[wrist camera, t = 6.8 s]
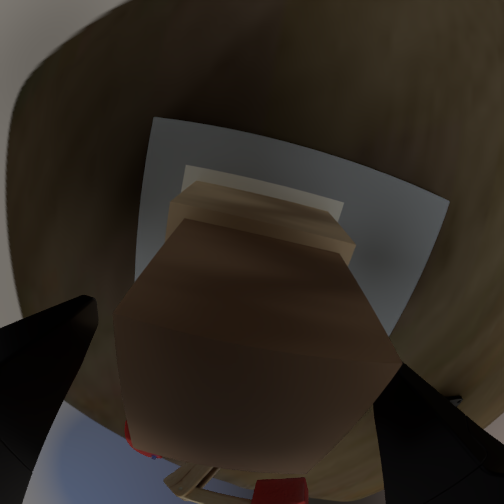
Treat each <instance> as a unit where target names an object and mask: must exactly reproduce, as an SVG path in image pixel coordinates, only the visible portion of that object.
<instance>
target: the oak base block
mask: <svg viewBox="0 0 504 504" xmlns="http://www.w3.org/2000/svg"><path fill="white" fill-rule="evenodd" d="M184 218H186V219H191V220H196V221H200V222H205V223H209V224H214V225H219V226H223V227H228V228H232V229H237V230H241V231H246V232H250V233H255V234H259V235H263V236H268V237H272V238H276V239H281V240H285V241H289V242H294V243H298V244H302V245H307V246H311V247H315V248H319V249H323V250H328V251H332V252H336V253H339V254H340V255H341V257H342V258H343V260H344V261H345V263H346V265H347V266H348V265H349V263H350V260H351V257H352V255H353V252H354V249H355V247H356V244H355V243H354V241H353V240H352V239H351V238H350V237H349V235H348V234H347V233H346V232H345V231H344V229H343V228H342V227H341V226H340V225H339V224H338V222H337V221H336V220H335V219H334V218H333V217H332V215H331V214H330V213H329V212H328V211H324V210H320V209H317V208H313V207H309V206H305V205H301V204H298V203H294V202H290V201H286V200H282V199H278V198H274V197H269V196H265V195H261V194H257V193H252V192H248V191H244V190H239V189H235V188H230V187H226V186H221V185H216V184H211V183H206V182H202V181H197V180H196V181H195V182H194V183H193V184H191V185H190V186H189V187H188V188H186V189H185V190H184V191H182V192H181V193H180V194H179V195H178V196H176V197H175V198H174V199H173V200H171V201H170V205H169V212H168V220H167V227H166V235H165V242H166V241H167V239H168V238H169V237H170V236H171V234H172V233H173V232H174V231H175V229H176V228H177V227H178V226H179V224H180V223H181V222H182V221H183V219H184Z"/></svg>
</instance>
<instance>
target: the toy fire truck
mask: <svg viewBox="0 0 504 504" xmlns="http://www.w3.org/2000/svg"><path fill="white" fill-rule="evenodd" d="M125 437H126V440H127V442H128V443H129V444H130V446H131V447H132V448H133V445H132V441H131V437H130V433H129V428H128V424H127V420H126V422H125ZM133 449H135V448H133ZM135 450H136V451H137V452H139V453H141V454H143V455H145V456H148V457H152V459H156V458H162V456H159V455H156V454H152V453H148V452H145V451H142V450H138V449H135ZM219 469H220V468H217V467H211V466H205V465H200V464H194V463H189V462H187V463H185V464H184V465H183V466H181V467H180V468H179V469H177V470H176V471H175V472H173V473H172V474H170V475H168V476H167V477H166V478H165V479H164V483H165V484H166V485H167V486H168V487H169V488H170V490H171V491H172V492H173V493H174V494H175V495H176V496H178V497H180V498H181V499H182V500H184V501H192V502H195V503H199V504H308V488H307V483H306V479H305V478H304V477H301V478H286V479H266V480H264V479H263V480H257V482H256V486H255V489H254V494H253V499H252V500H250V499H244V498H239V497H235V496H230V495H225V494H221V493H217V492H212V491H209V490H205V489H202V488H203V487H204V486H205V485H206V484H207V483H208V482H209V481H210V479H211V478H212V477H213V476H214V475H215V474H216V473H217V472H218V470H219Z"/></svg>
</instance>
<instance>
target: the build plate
mask: <svg viewBox="0 0 504 504" xmlns="http://www.w3.org/2000/svg"><path fill="white" fill-rule="evenodd" d="M196 180H197V181H202V182H206V183H211V184H216V185H221V186H226V187H230V188H235V189H239V190H244V191H248V192H252V193H257V194H261V195H265V196H269V197H274V198H278V199H282V200H286V201H290V202H294V203H298V204H301V205H305V206H309V207H313V208H317V209H320V210H324V211H328V212H329V213H330V214H331V215H332V217H333V218H334V219H335V220H336V221H337V222H338V224H339V225H340V226H341V227H342V228H343V229H344V231H345V232H346V233H347V234H348V235H349V237H350V238H351V239H352V240H353V241H354V243H355V244H356V247H355V249H354V252H353V255H352V257H351V260H350V263H349V265H348V268H349V270H350V271H351V273H352V274H353V276H354V278H355V279H356V281H357V283H358V284H359V286H360V288H361V289H362V291H363V293H364V294H365V296H366V298H367V299H368V301H369V303H370V305H371V306H372V308H373V310H374V312H375V313H376V315H377V317H378V319H379V320H380V322H381V324H382V326H383V328H384V329H385V331H386V333H387V335H388V337H389V335H390V334H391V332H392V330H393V328H394V327H395V325H396V323H397V321H398V319H399V318H400V316H401V314H402V312H403V310H404V308H405V306H406V304H407V302H408V300H409V298H410V297H411V295H412V293H413V290H414V288H415V286H416V284H417V282H418V280H419V278H420V276H421V274H422V271H423V269H424V267H425V265H426V262H427V260H428V258H429V255H430V253H431V251H432V248H433V246H434V243H435V241H436V238H437V236H438V233H439V231H440V228H441V225H442V223H443V220H444V217H445V214H446V211H447V208H448V205H449V202H450V201H448V200H446V199H444V198H442V197H439V196H437V195H435V194H433V193H431V192H428V191H426V190H424V189H422V188H419V187H417V186H415V185H412V184H410V183H408V182H405V181H403V180H400V179H398V178H395V177H393V176H390V175H387V174H385V173H382V172H380V171H377V170H374V169H371V168H369V167H366V166H363V165H360V164H357V163H355V162H352V161H349V160H346V159H343V158H340V157H336V156H333V155H330V154H327V153H324V152H320V151H317V150H314V149H310V148H307V147H303V146H300V145H296V144H292V143H289V142H285V141H281V140H277V139H273V138H269V137H265V136H260V135H256V134H252V133H247V132H242V131H238V130H233V129H228V128H223V127H217V126H212V125H206V124H200V123H194V122H188V121H181V120H174V119H167V118H159V117H154V118H153V123H152V129H151V134H150V139H149V145H148V151H147V157H146V163H145V170H144V177H143V184H142V192H141V201H140V210H139V220H138V231H137V245H136V262H135V281H136V280H137V278H138V277H139V276H140V274H141V273H142V272H143V270H144V269H145V268H146V266H147V265H148V264H149V262H150V261H151V260H152V259H153V257H154V256H155V255H156V253H157V252H158V251H159V249H160V248H161V247H162V246H163V244H164V243H165V235H166V227H167V220H168V212H169V205H170V201H171V200H173V199H174V198H175V197H176V196H178V195H179V194H180V193H181V192H182V191H184V190H185V189H186V188H188V187H189V186H190V185H191V184H193V183H194V182H195V181H196Z"/></svg>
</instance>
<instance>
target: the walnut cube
mask: <svg viewBox="0 0 504 504" xmlns="http://www.w3.org/2000/svg"><path fill="white" fill-rule="evenodd" d="M113 324H114V337H115V347H116V356H117V364H118V372H119V379H120V386H121V392H122V398H123V403H124V409H125V414H126V419H127V424H128V428H129V433H130V437H131V441H132V445H133V448H135V449H138V450H142V451H145V452H148V453H152V454H156V455H159V456H163V457H167V458H171V459H176V460H180V461H185V462H189V463H194V464H200V465H205V466H211V467H217V468H224V469H232V470H241V471H251V472H263V473H284V474H307V473H308V472H309V471H310V470H311V469H312V468H313V467H314V466H315V465H316V464H317V463H318V462H320V461H321V460H322V459H323V458H324V457H325V456H326V455H327V454H328V453H329V452H330V451H331V450H332V449H333V448H334V447H335V446H336V445H337V444H338V443H339V442H340V441H341V440H342V438H343V437H344V436H345V435H346V434H347V433H348V432H349V431H350V430H351V429H352V428H353V426H354V425H355V424H356V423H357V422H358V421H359V420H360V419H361V417H362V416H363V415H364V414H365V413H366V411H367V410H368V409H369V408H370V407H371V405H372V404H373V403H374V402H375V400H376V399H377V398H378V397H379V395H380V394H381V393H382V392H383V390H384V389H385V388H386V386H387V385H388V384H389V382H390V381H391V380H392V378H393V377H394V375H395V374H396V373H397V371H398V370H399V368H400V367H401V365H402V364H403V363H402V361H401V359H400V357H399V356H398V354H397V352H396V350H395V348H394V346H393V344H392V342H391V340H390V339H389V337H388V335H387V333H386V331H385V329H384V328H383V326H382V324H381V322H380V320H379V319H378V317H377V315H376V313H375V312H374V310H373V308H372V306H371V305H370V303H369V301H368V299H367V298H366V296H365V294H364V293H363V291H362V289H361V288H360V286H359V284H358V283H357V281H356V279H355V278H354V276H353V274H352V273H351V271H350V270H349V268H348V266H347V265H346V263H345V261H344V260H343V258H342V257H341V255H340V254H339V253H336V252H332V251H328V250H323V249H319V248H315V247H311V246H307V245H302V244H298V243H294V242H289V241H285V240H281V239H276V238H272V237H268V236H263V235H259V234H255V233H250V232H246V231H241V230H237V229H232V228H228V227H223V226H219V225H214V224H209V223H205V222H200V221H196V220H191V219H186V218H184V219H183V221H182V222H181V223H180V224H179V226H178V227H177V228H176V229H175V231H174V232H173V233H172V234H171V236H170V237H169V238H168V239H167V241H166V242H165V243H164V244H163V246H162V247H161V248H160V249H159V251H158V252H157V253H156V255H155V256H154V257H153V259H152V260H151V261H150V262H149V264H148V265H147V266H146V268H145V269H144V270H143V272H142V273H141V274H140V276H139V277H138V278H137V280H136V281H135V283H134V284H133V285H132V287H131V288H130V289H129V291H128V292H127V294H126V295H125V296H124V298H123V299H122V301H121V302H120V303H119V305H118V306H117V308H116V309H115V310H114V312H113Z"/></svg>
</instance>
